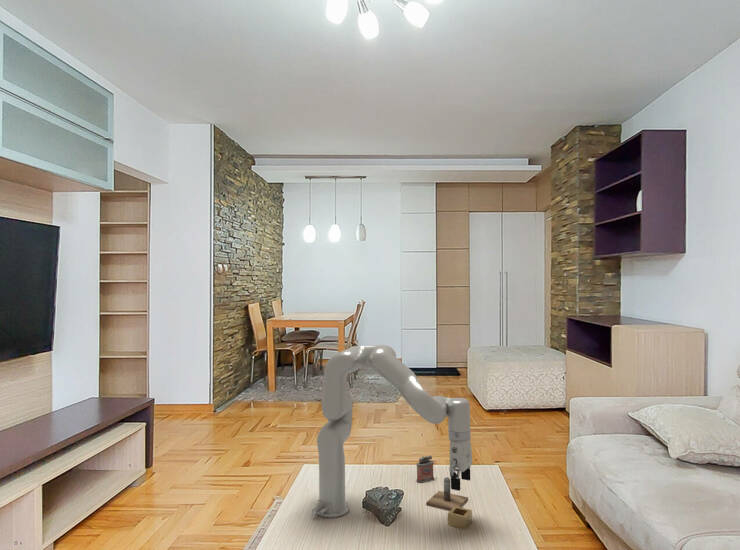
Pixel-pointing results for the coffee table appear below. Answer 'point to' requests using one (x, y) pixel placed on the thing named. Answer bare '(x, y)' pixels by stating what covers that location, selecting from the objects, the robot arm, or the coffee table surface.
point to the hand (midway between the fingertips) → (460, 484)
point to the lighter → (425, 469)
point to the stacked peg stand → (446, 498)
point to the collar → (460, 517)
